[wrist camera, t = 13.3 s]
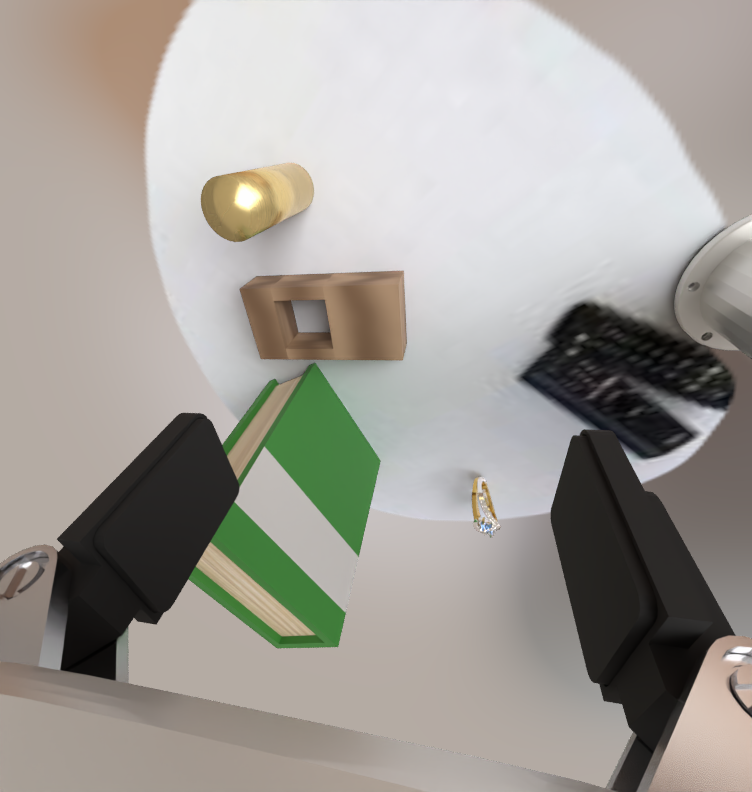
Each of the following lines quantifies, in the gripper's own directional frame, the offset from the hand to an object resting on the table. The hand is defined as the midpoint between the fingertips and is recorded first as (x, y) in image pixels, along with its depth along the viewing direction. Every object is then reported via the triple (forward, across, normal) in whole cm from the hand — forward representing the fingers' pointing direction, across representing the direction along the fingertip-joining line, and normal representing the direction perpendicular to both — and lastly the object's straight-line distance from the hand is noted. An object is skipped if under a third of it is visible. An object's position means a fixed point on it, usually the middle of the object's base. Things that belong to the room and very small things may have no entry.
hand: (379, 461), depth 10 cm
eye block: (+30, +11, +8) cm, 33 cm away
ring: (+31, -7, +34) cm, 46 cm away
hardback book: (+31, +14, +24) cm, 42 cm away
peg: (+30, +13, -4) cm, 33 cm away
